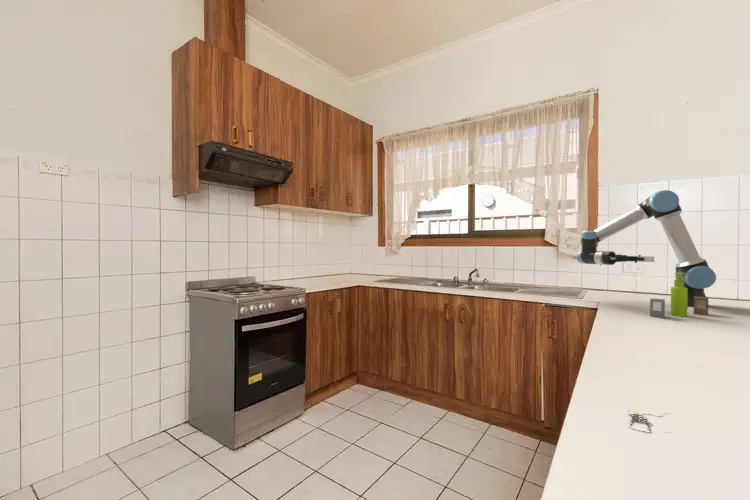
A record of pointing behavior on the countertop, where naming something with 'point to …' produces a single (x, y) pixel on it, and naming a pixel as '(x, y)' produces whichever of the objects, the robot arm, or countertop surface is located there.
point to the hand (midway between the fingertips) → (652, 259)
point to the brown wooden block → (701, 305)
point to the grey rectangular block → (657, 307)
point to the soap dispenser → (679, 297)
